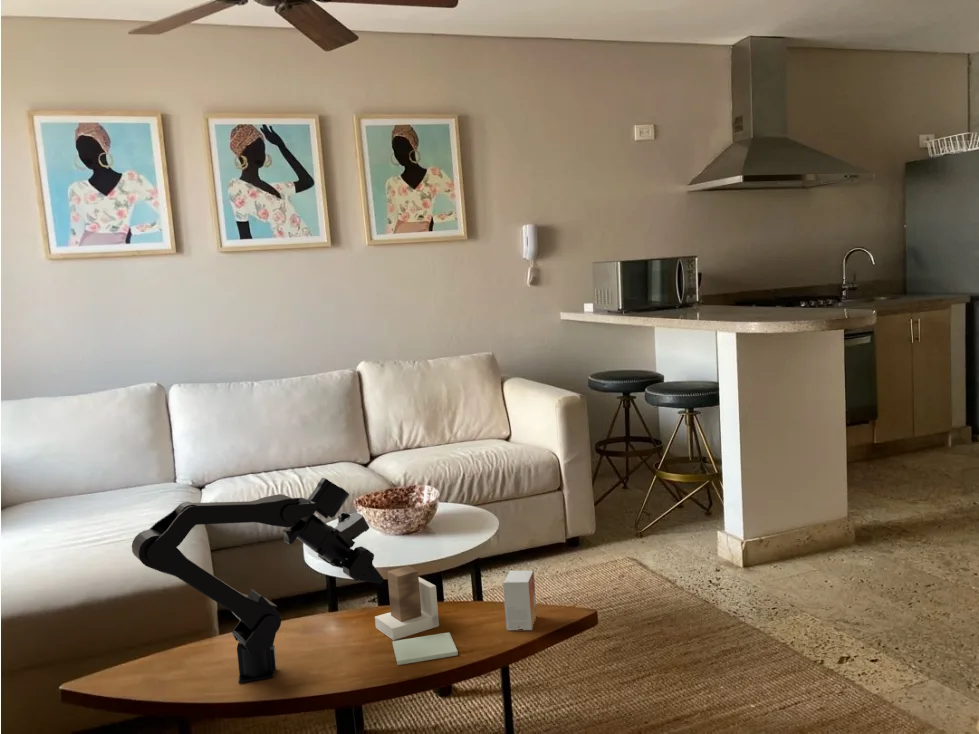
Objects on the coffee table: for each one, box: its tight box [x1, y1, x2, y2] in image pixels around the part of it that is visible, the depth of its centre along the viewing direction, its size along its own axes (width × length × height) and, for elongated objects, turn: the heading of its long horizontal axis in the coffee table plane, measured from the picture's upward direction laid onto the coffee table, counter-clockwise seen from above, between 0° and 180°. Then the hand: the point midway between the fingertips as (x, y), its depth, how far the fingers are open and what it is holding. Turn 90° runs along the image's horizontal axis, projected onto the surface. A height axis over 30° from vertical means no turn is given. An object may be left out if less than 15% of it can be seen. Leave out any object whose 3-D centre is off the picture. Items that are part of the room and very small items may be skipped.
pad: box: [392, 632, 459, 666], centre depth 162 cm, size 12×10×1 cm
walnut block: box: [386, 565, 422, 622], centre depth 174 cm, size 5×5×10 cm
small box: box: [502, 569, 538, 631], centre depth 172 cm, size 8×6×10 cm
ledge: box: [374, 576, 440, 641], centre depth 175 cm, size 11×9×9 cm
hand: (373, 576), depth 170 cm, fingers open, 9 cm apart
